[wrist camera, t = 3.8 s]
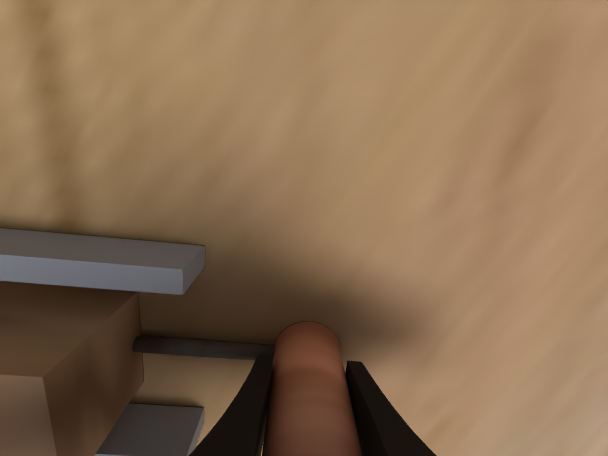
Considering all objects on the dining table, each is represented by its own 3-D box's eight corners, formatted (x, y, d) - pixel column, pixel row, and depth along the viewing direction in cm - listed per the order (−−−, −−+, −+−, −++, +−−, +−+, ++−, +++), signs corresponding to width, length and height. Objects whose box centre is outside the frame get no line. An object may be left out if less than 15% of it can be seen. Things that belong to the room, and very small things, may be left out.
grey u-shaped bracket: (203, 422, 15) (185, 475, 13) (-34, 409, 14) (-100, 461, 12) (205, 245, 12) (182, 269, 10) (-87, 220, 12) (-186, 239, 9)
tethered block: (332, 392, 15) (355, 551, 9) (19, 372, 14) (-178, 532, 8) (346, 307, 13) (382, 430, 8) (0, 280, 13) (-252, 393, 7)
